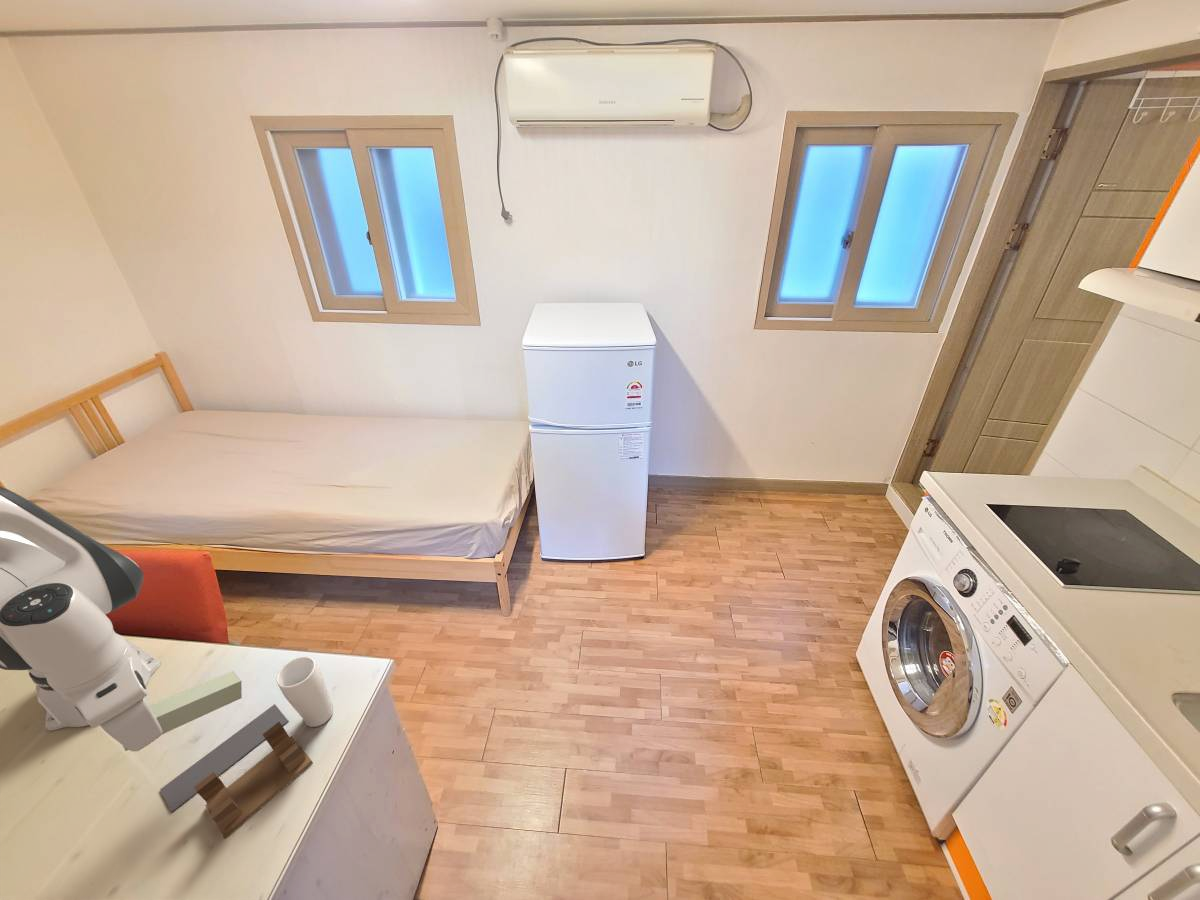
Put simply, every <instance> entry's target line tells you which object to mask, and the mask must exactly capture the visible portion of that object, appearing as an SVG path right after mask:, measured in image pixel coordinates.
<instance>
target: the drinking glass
mask: <svg viewBox="0 0 1200 900" xmlns="http://www.w3.org/2000/svg"><path fill="white" fill-rule="evenodd" d="M276 685H277V686H278V688H279V690H280V692H281V693H282V695H283V696H284V698H285V699H286V701H288V703H289V704H290V705H291V707H293V709H295V711H296V712H297V713H298V714H299V716H300V717H301V719H302V720H303V721H304V722H305V724H306V725H307V726H309V727H311V728H317V727H320V726H322V725H324V724H325V723H326V722H328V721H329V720H330V718H331V717H332V715H333V714H334V704H333V703H332V701H331V698H330V695H329V692H328V689H327V686H326V683H325V681H324V678H323V674H322V672H321V670H320V668H319V666H318V664H317V663H316V661H315V660H314V658H312V657H310V656H300V657H296V658H294V659H292V660H290V661H288V662H287V663H286V664H284V665H283V666H282V667H281V669H280V670H279V671H278V673H277V676H276Z"/></svg>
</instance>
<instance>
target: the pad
mask: <svg viewBox="0 0 1200 900" xmlns="http://www.w3.org/2000/svg"><path fill="white" fill-rule="evenodd" d="M278 722H280V723H281V725H282V726H283V727H284V726H285V725H286V724H288V723H289V720H288V718H287V717H286V716H285V714H283V712H282V711H281V709H280V708H279V707H278V706H277V705H276V704H275V703H274V704H272V706H270V707H268V708H267V709H266V710H264V711H263V712H262V713H261V714H260V715H258V716H256V718H254V719H253V720H251V721H250V722H248V723H247V724H246V725H244V726H243V727H242V728H241V729H239V730H237V731H236V732H235V733H234V734H232V735H231V736H230V737H229V738H227V739H225V740H224V741H223V742H221V743H220V744H219V745H218V746H217V747H215V748H213V750H211V751H210V752H208V753H207V754H206V755H204V756H203V757H202V758H200V759H199V760H198V761H196V762H195V763H193V764H192V765H190V766H189V767H188V768H187V769H185V770H184V771H182V772H181V773H180V774H178V775H177V776H176V777H174V778H173V779H172V780H170V781H169V782H168V783H167V784H166V785H164V786H162V787H161V788H160V789H159V790H160V792H161V794H162V796H163V798H164V800H165V802H166V804H167V806H168V808H169V811H170V812H171V813H174V812H175V811H176V810H177V809H179V808H181V807H182V806H183V805H184V804H186V803H187V802H188V801H189V800H190V799H192V798H193V797H194V796H196V795H197V794H198V793H197V791H196V790H195V788H194V787H195V786H196V785H197V784H199V783H200V782H201V781H203V780H204V779H205V778H206V777H208V776H209V775H210V774H212V773H213V772H214V773H215V774H216V775H217V776H218V777H219V776H221V775H222V774H224V773H225V772H226V771H227V770H229V769H230V768H231V767H233V766H234V765H235V764H236V763H238V762H239V761H241V760H242V759H243V758H244V757H245V756H247V755H248V754H249V753H250V752H252V751H253V750H254V749H256V748H257V747H259V745H261V744H262V743H263V742H264V741H267V740H266V739H265V738H264V736H263V735H262V734H264V733H265V732H266V731H267V730H269V729H270V728H271V727H273V726H274V725H275V724H276V723H278Z"/></svg>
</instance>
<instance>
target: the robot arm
mask: <svg viewBox="0 0 1200 900" xmlns="http://www.w3.org/2000/svg"><path fill="white" fill-rule="evenodd" d="M144 577H145V574H144V572H143V570H142V569H141V568H140V566H139V565H138V564H137V563H136V562H135V561H134V560H133V559H131V558H130V557H128V556H126V555H125V554H123V553H120V552H119V551H117V550H115V549H114V548H111V547H109V546H107V545H105V544H103V543H100V542H99V541H97V540H95V539H94V538H92V537H90V536H88V535H87V534H85V533H84V532H82V531H80V530H78V529H77V528H76V527H74V526H72V525H70V524H69V523H67V522H65V521H64V520H62V519H61V518H59V517H57V516H55V515H54V514H52V513H51V512H49V511H47V510H45V509H44V508H42V507H41V506H39V505H37V504H35V503H34V502H32V501H31V500H29V499H27V498H25V497H23V496H22V495H20V494H18V493H17V492H13V491H12V490H10V489H8V488H6V487H3V486H1V485H0V669H1V670H3V671H4V670H5V671H28V676H29V677H30V678H31V681H33V683H34V684H35V690H36V692H37V693H36V699H37V701H38V703H39V704H40V705H41V706H42V707H43V708H44V709H45V710H46V711H45V713H46V714H45V723H44V727H45V728H46V730H47V731H52V732H53V731H55V730H58V729H59V730H60V729H63V728H72V727H73V728H81V727H85V726H90V727H91V728H93V729H95V728H97V727H99V726H100V728H102V730H104V732H105V733H107V734H108V735H109V736H110V737H111V738H112V739H113V740H115V741H116V742H118V743H119V744H120V745H121V746H122V747H123V746H124V747H126V748H127V749H129V750H128V751H131V752H139V751H141V750H142V749H144V748H146V747H147V746H149V745H151V744H152V743H153V742H154V741H157V739H159V738H160V737H161V736H162V735H163V734H162V728H161V726H160V724H159V722H158V720H157V719H156V717H155V715H154V713H153V711H152V709H151V707H150V705H151V704H149V702H148V699H147V696H148V691H147V687H146V685H147V683H148V682H149V680H150V678H151V676H152V675H153V674H154V673H155V672H156V670H158V669H159V667H160V665H161V660H159V659H158V658H156V657H154V655H151V654H150V653H149V652H147V651H146V650H144V649H143V648H141V647H140V646H138V645H137V644H135V643H133V642H132V641H130V640H129V639H127V638H125V637H123V636H122V635H121V634H119V633H116V631H115V630H114V626H113V623H112V621H111V619H110V618H109V617H108V616H107V615H108V614H109V613H112V612H115V611H117V610H118V609H120V608H121V607H123V606H125V605H126V604H128V603H130V602H133V600H135V599H137V597H138V594H139V593H140V591H141V589H142V585H143V582H144ZM124 747H123V748H124Z"/></svg>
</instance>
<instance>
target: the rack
mask: <svg viewBox="0 0 1200 900" xmlns="http://www.w3.org/2000/svg"><path fill="white" fill-rule="evenodd" d="M262 735H263V736H264V738H265V739H266V740H265V741H266V742H267V743H268V745H269V746H270V747H271V748H272V751H271V752H269V753H268V754H266V756H264V757H263V758H262V759H261V760H259V761H258V762H257V763H256V764H255V765H253V766H252V767H250V769H248V770H247V771H246V772H244V773H243V774H242V775H241V776H239V777H238V778H237V779H236V780H235V781H233V782H232V783H231V784H230V785H228V786H227V787H226V785H225V784H224V782H223V781H222V779H221V778H220V777H219V776H217V775H216V774H215V773H214V772H213V773H212V774H210V775H209V776H208V777H206V778H205V779H204V780H203V781H201V782H200V783H199V784H197V785H196V786H195V787H194V788H195V790H196V791H197V794H199V796H200V797H201V798H202V799H203V800H204V802H205V803H206V804H205V805H204V806H205V808H206V809H207V811H208V814H209V816H210V818H211V820H212V821H213V822H214V823H215V825H216V827H217V829H218V831H219V832H220V834H221V835H222V837H223V839H227V838H228V837H229V836H230V835H232V833H234V832H235V831H236V830H237V829H238V828H239V827H241V826H242V825H243V824H244V823H246V821H248V820H249V819H250V818H251V817H252V816H254V814H255V813H257V812H258V811H259V810H260V809H261V808H262V807H264V806H265V805H266V804H267V803H268V802H269V801H271V800H272V799H273V798H274V797H275V796H277V794H279V793H280V792H281V791H282V790H283V789H285V788H286V787H287V786H288V785H290V783H291V782H293V781H294V780H295V779H296V778H297V777H299V776H300V775H301V773H303V772H304V771H305V770H306V769H308V767H310V766H312V764H313V760H312V759H311V758H310V756H309V755H308V754H307V753H306V752H305V750H304V749H303V747H302V746H301V745H300V743H299V742H298V741H297V740H296V739H295V737H294V736H293V735H291V736H289V734H288V732H287V731H286V729H285V728H284V726H282V725H281V723H280V722H278V723H276V724H275V725H274V726H273V727H271V728H270V729H269V730H267V731H266V732H265V733H264V734H262Z"/></svg>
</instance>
